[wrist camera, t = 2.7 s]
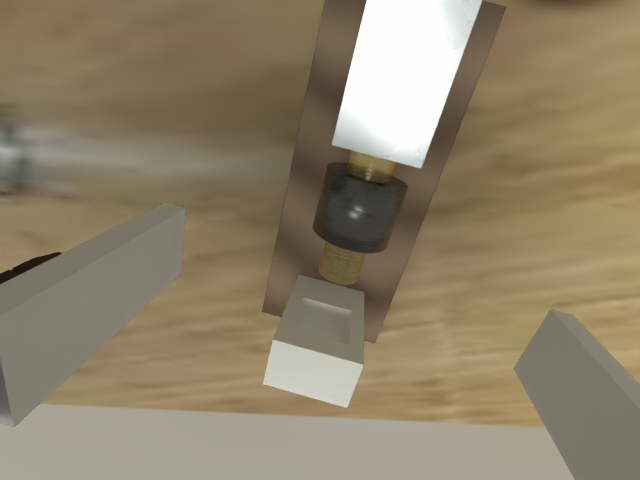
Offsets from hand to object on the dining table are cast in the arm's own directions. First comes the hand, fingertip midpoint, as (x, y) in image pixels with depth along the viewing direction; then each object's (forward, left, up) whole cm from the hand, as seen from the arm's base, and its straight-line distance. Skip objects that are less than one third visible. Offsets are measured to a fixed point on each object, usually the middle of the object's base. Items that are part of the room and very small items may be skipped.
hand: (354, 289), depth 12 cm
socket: (+11, 0, -16) cm, 20 cm away
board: (0, 0, -16) cm, 16 cm away
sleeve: (-8, 0, -15) cm, 17 cm away
